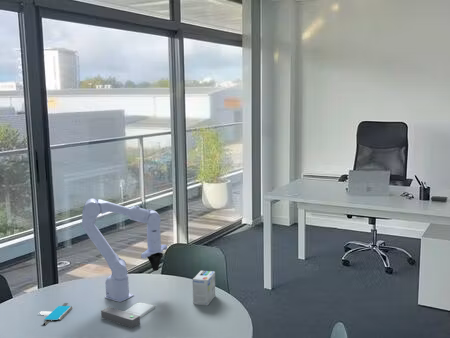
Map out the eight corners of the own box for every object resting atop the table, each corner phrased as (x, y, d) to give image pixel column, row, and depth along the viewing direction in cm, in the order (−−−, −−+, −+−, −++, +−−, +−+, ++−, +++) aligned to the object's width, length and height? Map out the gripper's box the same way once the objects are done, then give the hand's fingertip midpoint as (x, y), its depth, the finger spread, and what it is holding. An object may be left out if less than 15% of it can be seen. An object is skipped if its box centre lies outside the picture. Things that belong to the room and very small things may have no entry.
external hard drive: (154, 309, 188) (136, 322, 177) (138, 305, 192) (118, 318, 180) (154, 305, 188) (135, 317, 177) (137, 302, 191) (118, 314, 180)
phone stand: (51, 304, 194) (50, 300, 194) (78, 305, 193) (78, 301, 193) (25, 326, 175) (25, 322, 174) (56, 327, 173) (56, 323, 173)
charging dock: (101, 318, 179) (101, 310, 179) (109, 314, 183) (109, 306, 182) (132, 328, 171) (132, 319, 170) (140, 323, 174) (139, 315, 174)
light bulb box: (200, 294, 201) (200, 269, 200) (215, 295, 199) (215, 271, 198) (192, 304, 191) (191, 278, 189) (208, 305, 189) (207, 280, 188)
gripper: (149, 244, 191) (151, 276, 193) (172, 236, 203) (173, 266, 205) (136, 242, 195) (138, 274, 197) (159, 234, 207) (161, 263, 209)
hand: (155, 270), depth 201 cm, fingers closed
